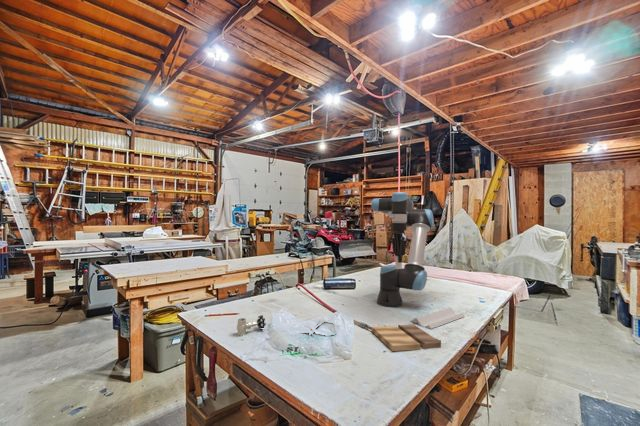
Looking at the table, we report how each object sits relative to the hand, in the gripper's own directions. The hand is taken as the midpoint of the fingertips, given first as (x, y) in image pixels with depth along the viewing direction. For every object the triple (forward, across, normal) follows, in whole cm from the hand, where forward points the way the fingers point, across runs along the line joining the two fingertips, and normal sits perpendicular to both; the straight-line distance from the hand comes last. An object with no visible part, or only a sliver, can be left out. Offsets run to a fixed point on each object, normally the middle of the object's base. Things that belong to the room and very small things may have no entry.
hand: (398, 268), depth 146 cm
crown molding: (+27, +2, +22) cm, 35 cm away
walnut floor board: (+26, +21, -2) cm, 34 cm away
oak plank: (+26, +21, -13) cm, 36 cm away
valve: (+27, +1, -73) cm, 78 cm away
